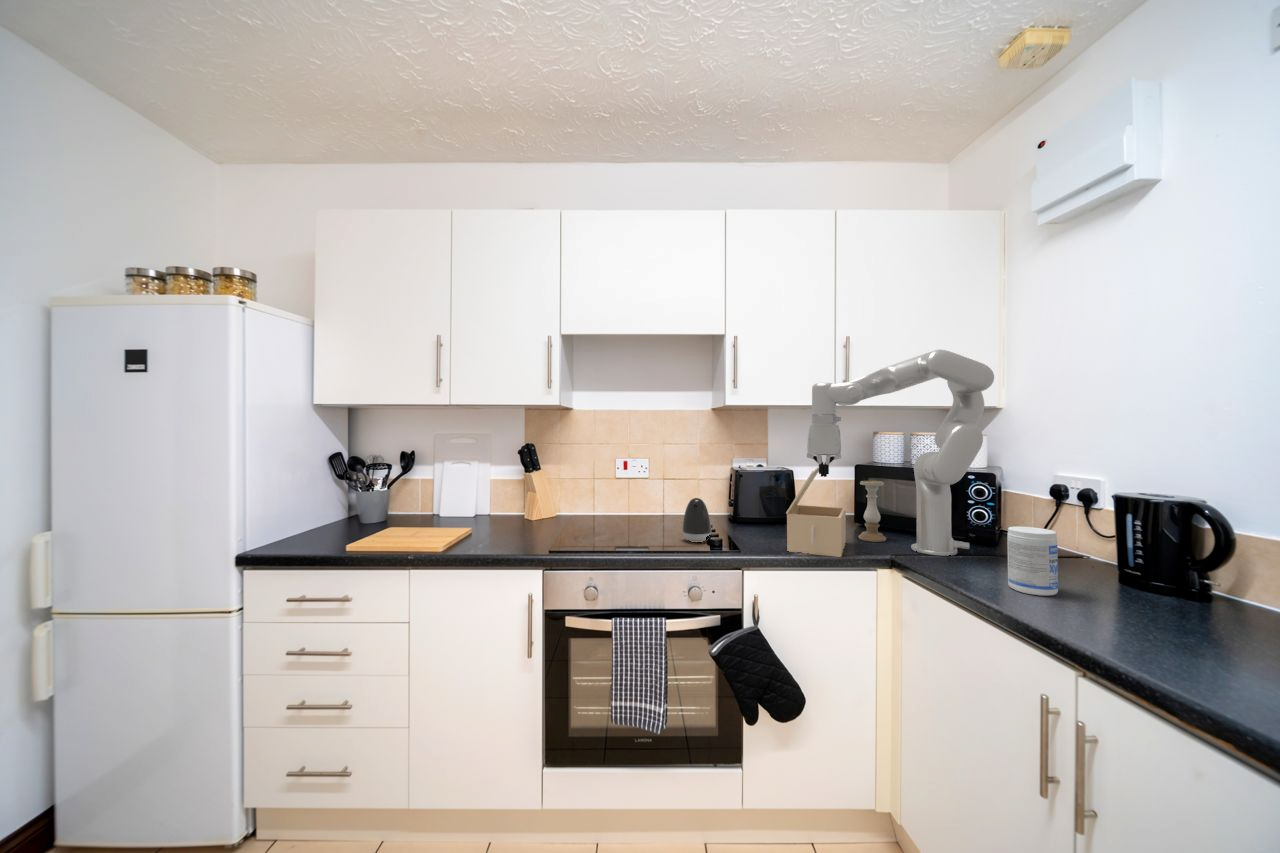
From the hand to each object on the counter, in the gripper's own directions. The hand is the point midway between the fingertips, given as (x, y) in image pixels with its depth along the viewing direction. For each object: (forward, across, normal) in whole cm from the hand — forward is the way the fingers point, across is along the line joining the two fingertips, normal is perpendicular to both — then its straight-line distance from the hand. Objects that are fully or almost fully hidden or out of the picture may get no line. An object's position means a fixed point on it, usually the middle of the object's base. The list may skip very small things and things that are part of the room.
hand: (823, 476), depth 162 cm
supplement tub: (+23, -50, +23) cm, 60 cm away
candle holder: (+24, -14, -20) cm, 34 cm away
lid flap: (+5, +6, 0) cm, 8 cm away
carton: (+24, +2, +2) cm, 24 cm away
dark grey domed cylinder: (+24, +41, +9) cm, 48 cm away
